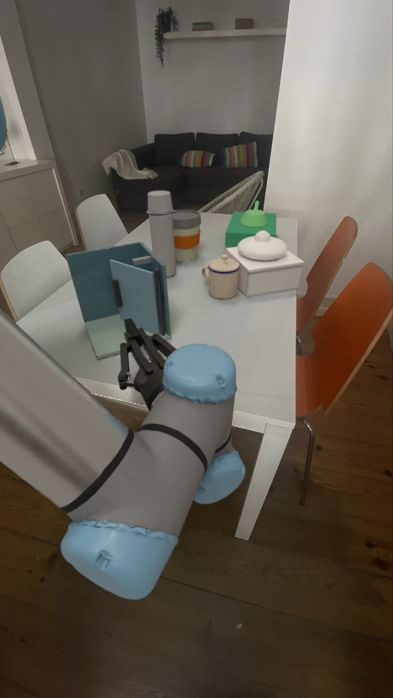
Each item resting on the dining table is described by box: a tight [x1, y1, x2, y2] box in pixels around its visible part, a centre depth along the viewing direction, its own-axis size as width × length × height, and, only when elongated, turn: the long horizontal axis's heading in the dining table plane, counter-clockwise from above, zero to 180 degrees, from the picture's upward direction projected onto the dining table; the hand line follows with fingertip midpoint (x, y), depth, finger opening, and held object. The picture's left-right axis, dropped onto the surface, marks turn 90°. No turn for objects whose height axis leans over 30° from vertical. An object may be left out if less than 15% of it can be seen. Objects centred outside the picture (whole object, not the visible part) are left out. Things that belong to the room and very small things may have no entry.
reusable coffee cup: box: [171, 209, 202, 262], centre depth 114 cm, size 12×13×15 cm
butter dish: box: [224, 231, 305, 298], centre depth 96 cm, size 18×18×16 cm
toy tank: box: [224, 200, 277, 249], centre depth 127 cm, size 18×12×35 cm
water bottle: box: [145, 190, 177, 279], centre depth 100 cm, size 9×8×25 cm
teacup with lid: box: [201, 253, 240, 300], centre depth 93 cm, size 12×9×12 cm
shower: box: [64, 241, 172, 360], centre depth 75 cm, size 18×16×19 cm
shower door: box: [109, 260, 160, 335], centre depth 75 cm, size 13×2×16 cm, turn 55°
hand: (128, 324), depth 65 cm, fingers closed
